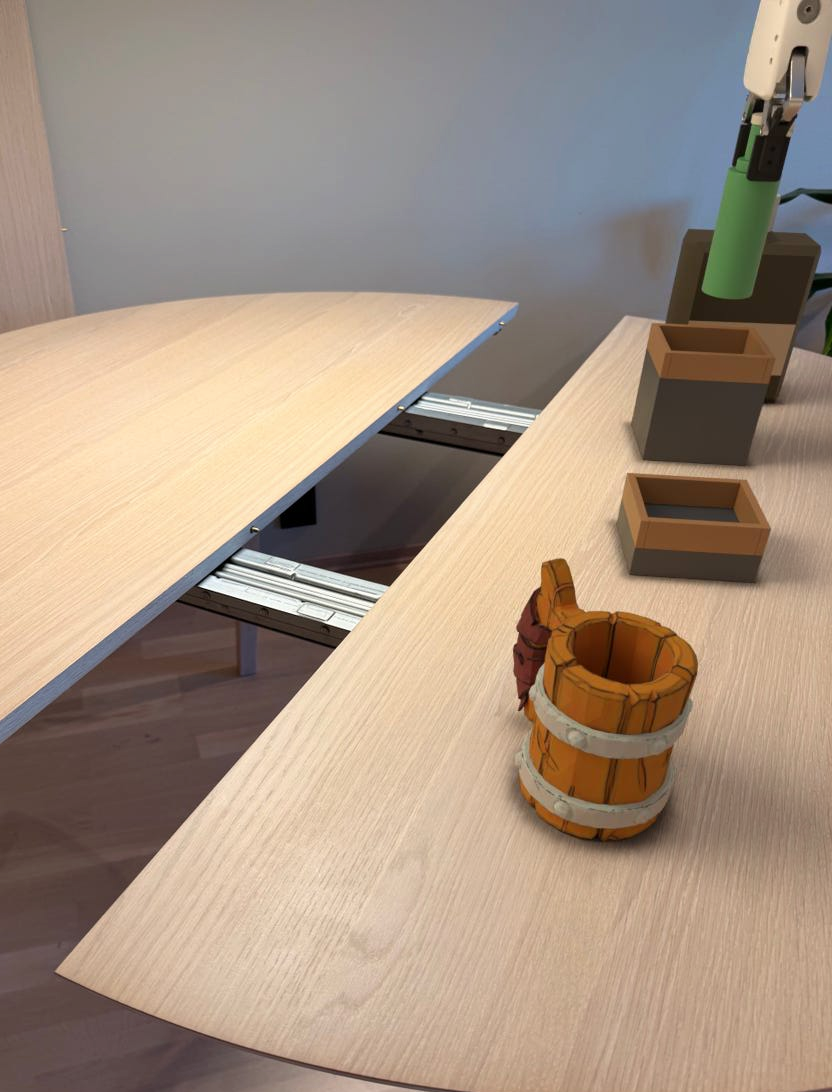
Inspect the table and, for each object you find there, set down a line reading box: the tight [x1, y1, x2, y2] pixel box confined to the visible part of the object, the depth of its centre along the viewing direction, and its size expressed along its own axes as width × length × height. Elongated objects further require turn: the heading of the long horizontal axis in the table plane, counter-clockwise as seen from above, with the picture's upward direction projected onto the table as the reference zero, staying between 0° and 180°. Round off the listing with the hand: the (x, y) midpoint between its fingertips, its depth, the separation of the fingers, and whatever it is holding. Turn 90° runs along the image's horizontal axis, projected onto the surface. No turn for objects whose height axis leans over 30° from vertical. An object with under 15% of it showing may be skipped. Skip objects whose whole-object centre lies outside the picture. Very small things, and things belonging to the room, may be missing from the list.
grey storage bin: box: [630, 322, 776, 466], centre depth 116 cm, size 12×10×13 cm
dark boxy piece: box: [664, 193, 822, 403], centre depth 126 cm, size 8×16×25 cm, turn 87°
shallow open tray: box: [616, 472, 772, 583], centre depth 97 cm, size 12×10×6 cm
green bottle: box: [702, 113, 783, 299], centre depth 101 cm, size 5×5×17 cm
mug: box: [512, 557, 699, 842], centre depth 69 cm, size 11×16×15 cm, turn 24°
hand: (755, 172), depth 99 cm, fingers closed on green bottle, 5 cm apart
